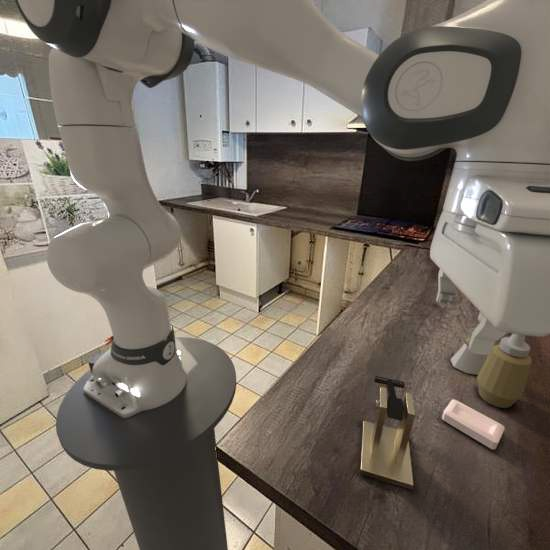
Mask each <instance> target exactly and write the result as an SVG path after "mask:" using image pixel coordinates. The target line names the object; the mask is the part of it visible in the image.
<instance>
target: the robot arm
mask: <svg viewBox="0 0 550 550" xmlns="http://www.w3.org/2000/svg"><path fill="white" fill-rule="evenodd" d="M14 2H15V4H16V7H17V9H18V11H19V13H20V16H21V17H22V18H23V21H24V22H25V23H26V25H27V27H28V28H29V29H30V32H32V33H33V35H35V37H37V38H38V39H39V40H40V41H41V42H43V43H44V44H46V45H48V46H50V47H52V48H51V50H50V52H49V54H48V75H49V76H48V77H49V86H50V87H49V88H50V94H51V101H52V106H53V110H54V115H55V119H56V123H57V127H58V130H59V135H60V139H61V142H62V146H63V147H62V148H63V150H64V154H65V157H66V161H67V166H68V170H69V173H70V176H71V177H72V179H73V181H74V182H75V183H76V184H77V185H78V186H79V187H81V188H82V189H84V190H85V191H87V192H90V193H91V194H94V195H96V196H97V197H98V198H99V199H100V201H101V202H102V204H103V205H104V207H105V209H106V212H107V215H108V217H105V218H101V219H97V220H92V221H88V222H83V223H80V224H78V225H76V226H73V227H71V228H69V229H67V230H65V231H63V232H62V233H59V234H58V235H56V236H54V237H53V238H51V240H50V241H49V243H48V245H47V249H46V262H47V267H48V269H49V271H50V273H51V275H52V276H53V278H54V279H56V282H58V283H59V284H61V285H62V286H63V287H65V288H67V289H69V290H70V291H73V292H76V293H79V294H84V295H88V296H89V297H92V298H93V299H94V300H95V301H97V303H99V304H100V306H101V307H102V309H103V311H104V312H105V314H106V318H107V321H108V323H109V327H110V330H111V334H112V335H111V336H110V337H108V338H107V339H105V340H104V343H105V346H108V345H110V344H111V347H110V348H109V349H108V350H103V351H101V352H100V353H99V354H97V355H96V356H94V358H92V359H91V360H89V362H87V363H88V367H89V370H91V373H93V375H92V376H91V378H90V379H89V380H88V381H87V382H86V384H85V386H84V388H83V390H84V393H85V394H87V395H88V396H90V397H91V398H93V399H94V400H96V401H97V402H99V403H100V404H102V405H104V406H105V407H107V408H108V409H110V410H111V411H113V412H114V413H116V414H117V415H119V416H121V417H122V418H127V417H130V416H132V415H135V414H137V413H139V412H141V411H144V410H149V409H153V408H157V407H159V406H162V405H164V404H166V403H168V402H170V401H171V400H173V399H174V398H175V397H176V396H177V395H178V394H179V393H180V392H181V391H182V390H183V388H184V387H185V384H186V381H187V376H186V373H185V371H184V369H183V367H182V361H181V358H180V357H179V355H180V351H177V349H176V344H175V343H176V341H175V337H176V335H175V330H174V326H173V325H172V323H171V318H170V313H169V307H168V299H167V297H166V295H165V294H164V293H163V292H162V291H160V290H159V289H157V288H155V287H153V286H149V285H147V284H146V282H145V280H144V275H143V274H144V271H145V270H146V269H148V268H150V267H152V266H154V265H156V264H158V263H160V262H162V261H164V260H166V259H167V258H168V257H169V256H170V255H171V254H172V253H174V252H175V251H176V250H177V248H178V247H179V246H180V244H181V242H182V228H181V226H180V224H179V222H178V220H177V218H176V217H175V216H174V215H172V214H171V213H170V212H169V211H167V210H166V209H165V208H164V207H163V206H162V204H161V203H160V201H159V200H158V198H157V196H156V195H155V191H154V190H153V188H152V186H151V183H150V180H149V178H148V174H147V170H146V165H145V160H144V155H143V149H142V145H141V138H140V134H139V127H138V122H137V118H136V113H135V108H134V107H135V106H134V100H133V99H134V98H133V97H134V92H135V88H136V87H137V85H138V84H139V82H140V84H142V85H144V86H145V87H146V88H148V89H152V88H155V87H157V86H158V85H160V84H161V83H162V82H164V81H168V80H172V79H174V78H177V77H179V76H180V75H182V74H183V73H184V72H185V71H186V70H187V69H188V67H189V66H190V64H191V61H192V59H193V56H194V53H195V42H196V43H198V44H200V45H202V46H203V47H205V48H207V49H209V50H211V51H213V52H215V53H218V54H220V55H222V56H225V57H227V58H230V59H232V60H235V61H239V62H242V63H244V64H247V65H250V66H253V67H257V68H260V69H263V70H266V71H269V72H273V73H276V74H279V75H282V76H285V77H288V78H291V79H293V80H296V81H298V82H301V83H303V84H306V85H307V86H310V87H312V88H314V89H315V90H317V91H319V92H320V93H322V94H323V95H324V96H327V97H328V98H330V99H331V100H333V101H335V102H336V103H338V104H340V105H341V106H343V107H344V108H346V109H348V110H349V111H351V112H352V113H354V114H356V115H357V116H359V117H360V118H361V119H362V121H363V125H364V127H365V128H366V130H367V132H368V134H370V136H371V137H372V139H373V140H374V141H375V142H376V143H377V144H378V145H379V146H381V147H382V148H383V149H384V150H385V151H386V152H387V153H388V154H389V155H391V156H392V157H394V158H396V159H397V160H401V161H406V162H418V161H424V160H427V159H431V158H433V157H434V156H436V155H438V154H440V153H441V152H443V151H444V150H446V149H453V150H455V152H456V157H455V160H454V161H455V162H454V165H453V168H452V173H451V176H450V180H449V184H448V187H447V191H446V195H445V198H444V201H443V202H444V203H443V206H442V212H441V214H440V216H439V219H438V222H437V225H436V227H435V230H434V234H433V238H432V241H431V244H430V248H429V258H430V260H431V261H432V262H433V263H434V264H435V265H436V266H437V267H438V268H439V271H438V274H437V277H438V279H437V280H438V283H437V284H438V285H437V287H438V291H437V294H436V298H435V301H436V304H438V306H439V308H441V309H447V310H453V309H454V308H455V307H456V304H457V301H458V299H459V296H458V295H457V290H459V291H460V292H461V293H462V294H463V295H464V296H465V297H466V298H467V300H469V302H470V303H471V304H472V305H473V306H474V307H475V308H476V310H478V311H479V313H478V316H477V321H478V322H479V323H478V325H477V326H476V327H475V328H474V329H475V330H472V329H471V328H468V329H467V333H466V338H465V339H464V344H466V345H467V347H468V348H469V350H470V351H471V352H472V353H473V354H480V355H482V356H488V355H489V354H490V353H491V352H492V349H493V347H494V346H495V345H496V342H498V341H499V340H501V339H502V338H504V337H505V336H506V335H507V334H519V335H525V336H527V337H534V338H535V337H536V338H542V337H545V336H546V337H547V336H548V335H550V0H485V1H483V2H482V3H479V4H478V5H476V6H474V7H473V8H471V9H469V10H467V11H465V12H463V13H461V14H458V15H456V16H454V17H451V18H450V19H448V20H444V21H442V22H440V23H437V24H434V25H431V26H424V27H420V28H416V29H414V30H410V31H409V32H405V34H403V35H401V36H399V37H397V38H396V39H395V40H394V41H392V42H391V43H390V44H388V46H386V47H385V48H384V49H383V50H382V52H381V53H379V54H378V53H377V52H374V51H373V50H371V49H369V48H368V47H366V46H365V45H363V44H361V43H360V42H358V41H356V40H355V39H353V38H351V37H350V36H349V35H346V34H345V33H343V32H342V31H341V30H340V29H338V28H337V27H336V26H335V25H334V24H332V22H331V21H329V20H328V19H327V17H326V16H325V15H324V14H323V13H322V11H321V10H320V9H319V7H317V5H316V4H315V2H314V1H313V0H14Z"/></svg>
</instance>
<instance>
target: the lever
mask: <svg viewBox="0 0 550 550" xmlns="http://www.w3.org/2000/svg"><path fill="white" fill-rule="evenodd" d="M373 381H374V383H377V384H381V385H385V386H386V390H387V411H386V416H387V418H388V419H391V420H395V421H398V422H399V421H402V419H403V412H404V405H403V402H404V400H403V398H398V397H397V394H396V389H395V388H400V389H405V386H406V385H405V381H401V380H397V379H392V378H387V377H382V376H377V375H375V376H374V379H373Z"/></svg>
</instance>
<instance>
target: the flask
mask: <svg viewBox="0 0 550 550" xmlns="http://www.w3.org/2000/svg"><path fill="white" fill-rule="evenodd" d="M470 329H472V330H475V329H476V328H474V327H471V328H470ZM449 360H450V362H451V364H452V367H453V368H455V369H457V370H459V371H461V372H463V373H465V374H469V375H476V376H478V374H479V372H480V370H481V368H482V366H483V364H484V361H483V355H480V354H473V353H472V352H471V351H470V350H469V348H468V347H467V345H466V344H465V343H463V345H462V346H461V347H460V349H458V350H457V351H456V353H454V354H453V355H452V357H450V359H449Z"/></svg>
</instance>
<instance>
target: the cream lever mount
mask: <svg viewBox="0 0 550 550" xmlns="http://www.w3.org/2000/svg"><path fill="white" fill-rule="evenodd" d="M387 400H388V391H387V387H383V386H380V387H379V392H378V397H377V399H375V402H374V408H375V413H374V418H373V422H371V421H367V420H363V421H362V434H361V451H360V467H359V468H360V469H359V470H360V471H359V474H360V475H362V476H365V477H368V478H372V479H375V480H378V481H381V482H385V483H388V484H391V485H395V486H398V487H401V488H405V489H408V490H413V489H414V479H413V478H414V477H413V467H412V458H411V448H410V436H411V432H412V428H413V424H414V421H415V418H416V415H417V411H416V410H417V409H416V407H415V405H414V404H415V403H414V397H413V393H410V392H405V394H404V398H403V405H404V412H403V419H402V421H399V420H398V425H397V428H394V427H391V426H387V425H385V422H386V416H387Z"/></svg>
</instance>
